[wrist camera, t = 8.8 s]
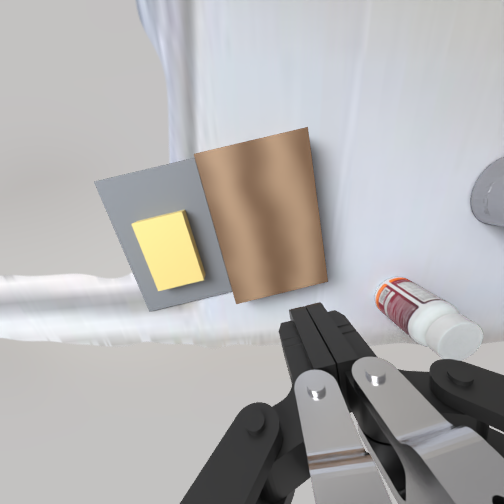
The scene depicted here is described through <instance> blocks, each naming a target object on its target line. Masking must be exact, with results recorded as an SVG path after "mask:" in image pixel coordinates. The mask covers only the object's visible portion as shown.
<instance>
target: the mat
mask: <svg viewBox="0 0 504 504" xmlns="http://www.w3.org/2000/svg"><path fill="white" fill-rule="evenodd" d="M94 183H95V185H96V188H97V190H98V192H99V195H100V197H101V199H102V202H103V204H104V206H105V209H106V211H107V213H108V216H109V218H110V220H111V223H112V225H113V228H114V230H115V232H116V235H117V237H118V239H119V242H120V244H121V246H122V248H123V251H124V253H125V256H126V258H127V260H128V262H129V265H130V267H131V270H132V272H133V274H134V277H135V279H136V281H137V284H138V286H139V288H140V291H141V293H142V295H143V298H144V300H145V302H146V305H147V307H148V309H149V312H150V311H154V310H158V309H162V308H166V307H170V306H174V305H179V304H183V303H187V302H191V301H195V300H199V299H203V298H207V297H211V296H215V295H220V294H224V293H228V292H232V288H231V284H230V281H229V277H228V274H227V270H226V267H225V263H224V260H223V256H222V253H221V249H220V245H219V242H218V238H217V235H216V231H215V228H214V224H213V221H212V217H211V214H210V210H209V207H208V203H207V200H206V196H205V193H204V189H203V185H202V182H201V178H200V175H199V171H198V168H197V164H196V161H195V158H192V159H187V160H183V161H179V162H175V163H171V164H167V165H162V166H158V167H154V168H150V169H145V170H141V171H137V172H133V173H128V174H124V175H120V176H116V177H111V178H107V179H103V180H99V181H95V182H94ZM181 210H185V211H186V214H187V218H188V221H189V224H190V227H191V230H192V233H193V236H194V240H195V243H196V246H197V249H198V252H199V255H200V258H201V262H202V265H203V268H204V271H205V278H204V280H203V281H199V282H195V283H190V284H186V285H182V286H178V287H174V288H170V289H166V290H162V291H158V289H157V287H156V284H155V282H154V279H153V277H152V274H151V272H150V269H149V267H148V264H147V262H146V259H145V257H144V254H143V252H142V249H141V247H140V244H139V242H138V240H137V237H136V235H135V232H134V230H133V227H132V225H131V224H132V223H134V222H137V221H139V220H144V219H148V218H152V217H156V216H160V215H164V214H168V213H173V212H177V211H181Z"/></svg>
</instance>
